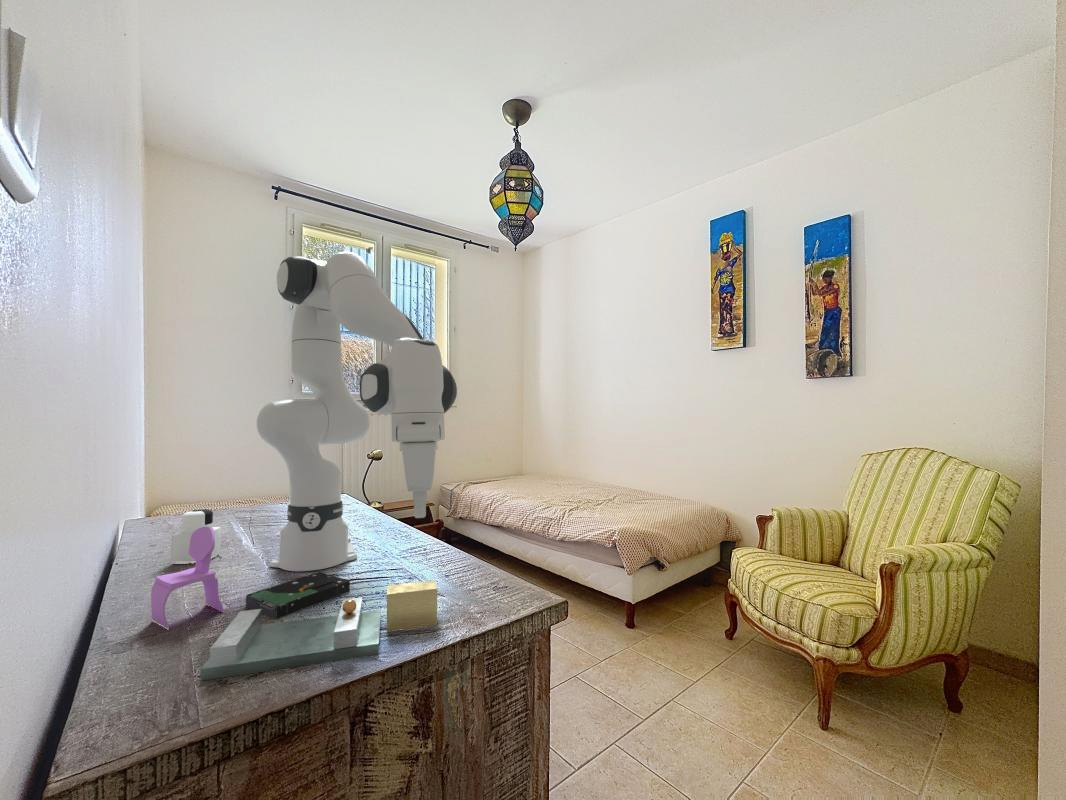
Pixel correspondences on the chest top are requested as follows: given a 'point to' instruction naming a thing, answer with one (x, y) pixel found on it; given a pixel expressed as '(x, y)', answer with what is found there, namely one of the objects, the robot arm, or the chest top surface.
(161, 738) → the chest top surface
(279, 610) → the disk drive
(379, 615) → the vise
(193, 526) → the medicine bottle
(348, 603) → the sliding jaw
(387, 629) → the brass block
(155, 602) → the toy chair
